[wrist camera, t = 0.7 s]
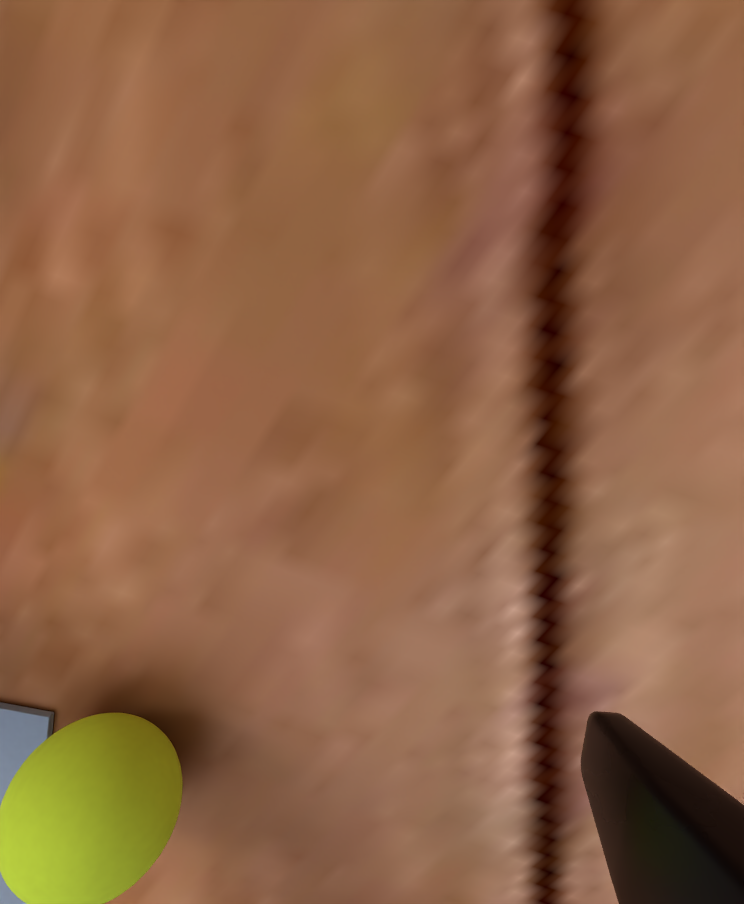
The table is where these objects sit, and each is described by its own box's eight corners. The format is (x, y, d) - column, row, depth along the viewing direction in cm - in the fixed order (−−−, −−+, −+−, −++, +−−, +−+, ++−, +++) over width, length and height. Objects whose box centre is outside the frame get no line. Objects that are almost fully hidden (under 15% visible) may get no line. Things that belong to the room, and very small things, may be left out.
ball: (196, 820, 24) (124, 981, 18) (61, 794, 24) (-59, 946, 18) (213, 695, 23) (145, 816, 17) (73, 669, 24) (-49, 779, 17)
